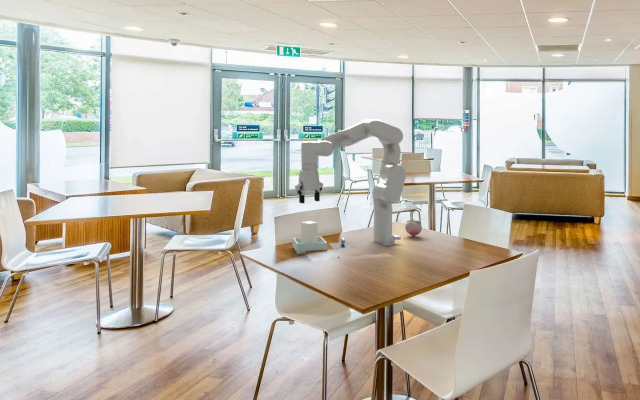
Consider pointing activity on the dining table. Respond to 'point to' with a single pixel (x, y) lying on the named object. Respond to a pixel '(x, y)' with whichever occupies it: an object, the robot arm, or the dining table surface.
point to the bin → (308, 245)
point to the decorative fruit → (413, 227)
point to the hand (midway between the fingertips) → (309, 202)
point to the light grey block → (309, 232)
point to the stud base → (347, 245)
